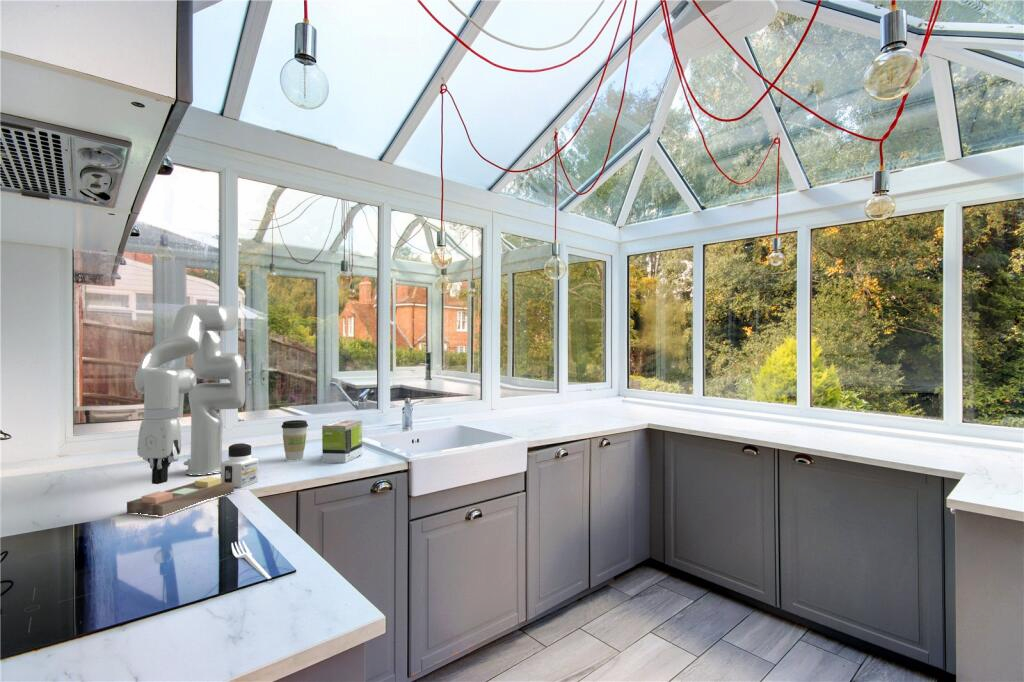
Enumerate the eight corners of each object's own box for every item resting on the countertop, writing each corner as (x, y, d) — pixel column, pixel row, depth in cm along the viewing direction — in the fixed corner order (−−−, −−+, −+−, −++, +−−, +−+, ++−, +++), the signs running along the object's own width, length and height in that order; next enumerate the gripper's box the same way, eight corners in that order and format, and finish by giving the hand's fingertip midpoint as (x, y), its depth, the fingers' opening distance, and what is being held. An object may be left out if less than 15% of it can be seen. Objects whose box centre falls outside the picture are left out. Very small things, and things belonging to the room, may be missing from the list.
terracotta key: (141, 507, 129) (141, 496, 129) (158, 502, 134) (158, 491, 134) (155, 509, 128) (155, 497, 128) (172, 503, 133) (172, 492, 133)
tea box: (340, 454, 204) (340, 419, 205) (362, 455, 203) (363, 419, 203) (321, 462, 190) (321, 424, 190) (345, 463, 188) (346, 425, 188)
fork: (260, 585, 91) (260, 575, 91) (228, 552, 106) (228, 543, 106) (278, 580, 94) (279, 570, 94) (244, 548, 108) (245, 539, 108)
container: (241, 488, 154) (241, 446, 154) (219, 486, 155) (220, 445, 155) (258, 481, 161) (259, 442, 161) (238, 480, 163) (238, 441, 163)
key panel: (126, 513, 129) (126, 502, 129) (201, 489, 151) (202, 480, 152) (162, 517, 126) (162, 505, 126) (233, 492, 148) (233, 482, 148)
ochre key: (194, 491, 145) (194, 480, 145) (208, 486, 150) (208, 477, 150) (207, 492, 144) (207, 482, 144) (221, 488, 148) (221, 478, 148)
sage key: (169, 503, 137) (169, 492, 137) (184, 498, 142) (185, 488, 142) (183, 504, 136) (183, 493, 136) (198, 499, 141) (198, 489, 141)
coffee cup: (301, 462, 190) (301, 423, 190) (276, 461, 190) (276, 423, 190) (311, 456, 200) (312, 420, 200) (287, 456, 200) (288, 419, 200)
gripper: (125, 415, 130) (124, 484, 130) (170, 417, 127) (168, 488, 126) (152, 412, 138) (151, 477, 137) (195, 413, 134) (194, 481, 133)
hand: (159, 482), depth 132 cm, fingers closed
